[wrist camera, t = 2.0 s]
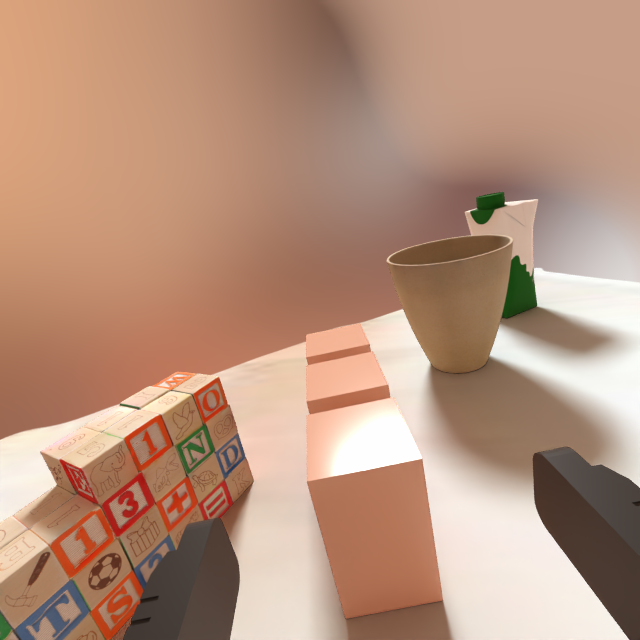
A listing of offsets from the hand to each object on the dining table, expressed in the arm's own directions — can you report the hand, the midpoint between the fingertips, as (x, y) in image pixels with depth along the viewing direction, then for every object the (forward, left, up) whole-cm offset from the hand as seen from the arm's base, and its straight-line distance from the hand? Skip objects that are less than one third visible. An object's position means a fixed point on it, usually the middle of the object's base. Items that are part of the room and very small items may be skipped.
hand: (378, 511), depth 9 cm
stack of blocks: (-20, +15, -17) cm, 30 cm away
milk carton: (+31, +52, -17) cm, 63 cm away
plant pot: (+16, +37, -17) cm, 44 cm away
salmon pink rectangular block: (0, +11, -17) cm, 20 cm away
